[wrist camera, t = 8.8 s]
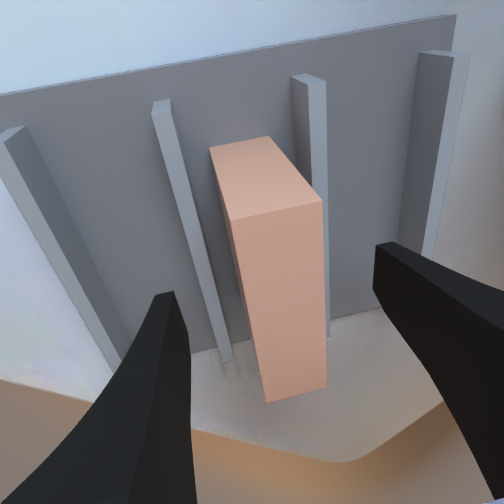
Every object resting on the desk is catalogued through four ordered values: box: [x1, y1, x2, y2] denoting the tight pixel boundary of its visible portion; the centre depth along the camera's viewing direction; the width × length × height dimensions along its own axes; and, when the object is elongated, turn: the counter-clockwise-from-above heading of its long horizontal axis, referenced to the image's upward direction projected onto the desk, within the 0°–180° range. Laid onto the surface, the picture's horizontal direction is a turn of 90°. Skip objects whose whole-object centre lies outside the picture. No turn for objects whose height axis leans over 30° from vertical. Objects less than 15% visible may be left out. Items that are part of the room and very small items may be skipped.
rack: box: [0, 15, 471, 373], centre depth 16 cm, size 17×14×3 cm
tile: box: [209, 136, 327, 403], centre depth 14 cm, size 2×8×6 cm, turn 8°
